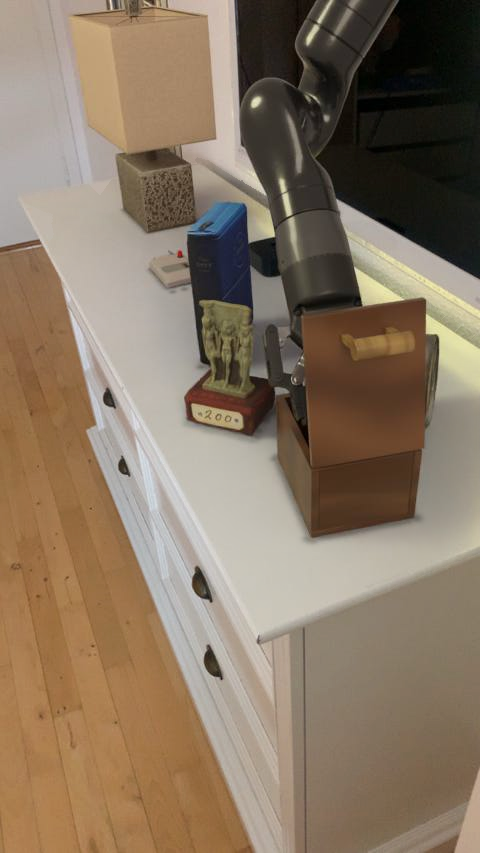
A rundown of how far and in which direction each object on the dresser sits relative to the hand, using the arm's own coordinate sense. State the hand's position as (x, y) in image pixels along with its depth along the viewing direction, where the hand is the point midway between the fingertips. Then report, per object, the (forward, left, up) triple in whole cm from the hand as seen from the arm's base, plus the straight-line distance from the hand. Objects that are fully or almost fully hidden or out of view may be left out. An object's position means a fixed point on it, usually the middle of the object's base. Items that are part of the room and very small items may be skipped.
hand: (349, 417), depth 70 cm
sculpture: (+9, -18, -10) cm, 23 cm away
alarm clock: (-11, -10, -10) cm, 18 cm away
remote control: (+10, -66, -10) cm, 68 cm away
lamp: (+9, -98, -10) cm, 99 cm away
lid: (0, +4, +6) cm, 7 cm away
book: (+6, -36, -10) cm, 38 cm away
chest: (0, -1, -10) cm, 10 cm away
